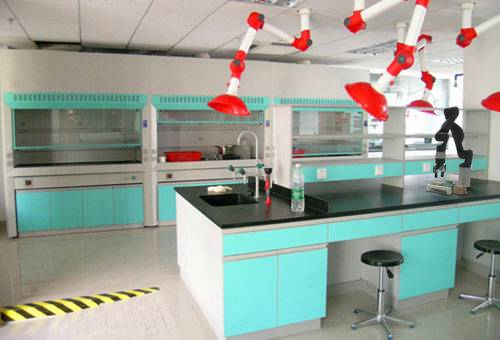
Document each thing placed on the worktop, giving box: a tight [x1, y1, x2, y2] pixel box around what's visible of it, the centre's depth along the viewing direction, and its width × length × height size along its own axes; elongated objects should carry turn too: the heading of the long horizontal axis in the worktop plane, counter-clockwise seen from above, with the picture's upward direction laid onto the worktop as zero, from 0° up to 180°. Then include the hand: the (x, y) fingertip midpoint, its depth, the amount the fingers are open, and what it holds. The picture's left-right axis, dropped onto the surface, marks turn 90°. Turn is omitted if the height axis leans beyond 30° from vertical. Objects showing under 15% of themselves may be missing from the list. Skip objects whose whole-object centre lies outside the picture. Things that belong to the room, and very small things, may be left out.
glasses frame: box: [425, 183, 452, 195], centre depth 346 cm, size 3×20×5 cm, turn 33°
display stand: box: [431, 179, 468, 195], centre depth 350 cm, size 8×27×9 cm, turn 33°
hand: (439, 177), depth 344 cm, fingers open, 8 cm apart
